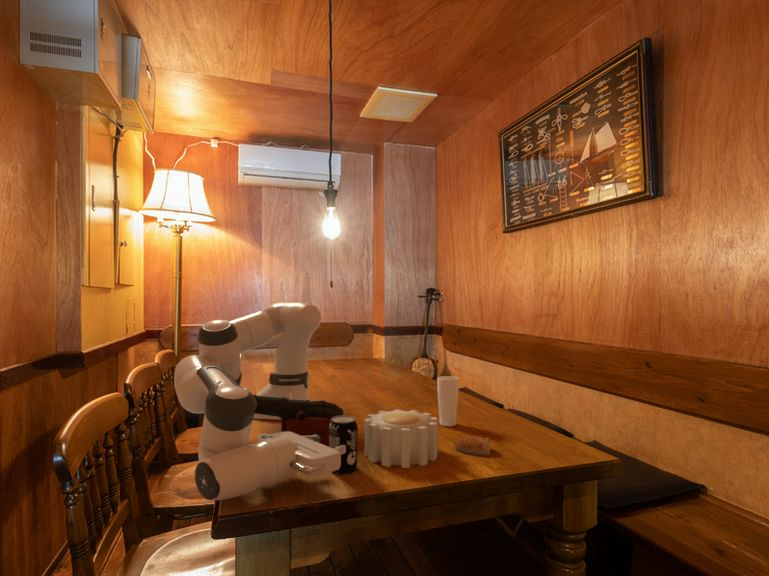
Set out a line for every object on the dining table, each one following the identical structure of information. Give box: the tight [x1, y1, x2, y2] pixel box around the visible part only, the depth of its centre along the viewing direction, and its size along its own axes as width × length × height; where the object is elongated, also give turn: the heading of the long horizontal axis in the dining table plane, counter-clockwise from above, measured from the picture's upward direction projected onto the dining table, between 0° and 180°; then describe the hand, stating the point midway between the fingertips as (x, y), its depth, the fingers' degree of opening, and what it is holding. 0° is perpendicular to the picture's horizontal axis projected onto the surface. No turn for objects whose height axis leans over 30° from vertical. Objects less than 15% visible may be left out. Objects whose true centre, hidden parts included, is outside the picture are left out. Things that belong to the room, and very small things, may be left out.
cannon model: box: [251, 393, 359, 447], centre depth 122 cm, size 13×30×15 cm, turn 112°
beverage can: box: [329, 414, 358, 474], centre depth 104 cm, size 7×7×12 cm
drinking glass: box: [436, 375, 460, 428], centre depth 140 cm, size 7×7×15 cm
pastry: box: [454, 436, 491, 456], centre depth 117 cm, size 9×7×4 cm
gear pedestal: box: [364, 409, 439, 469], centre depth 115 cm, size 19×19×9 cm
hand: (330, 443), depth 102 cm, fingers open, 8 cm apart
